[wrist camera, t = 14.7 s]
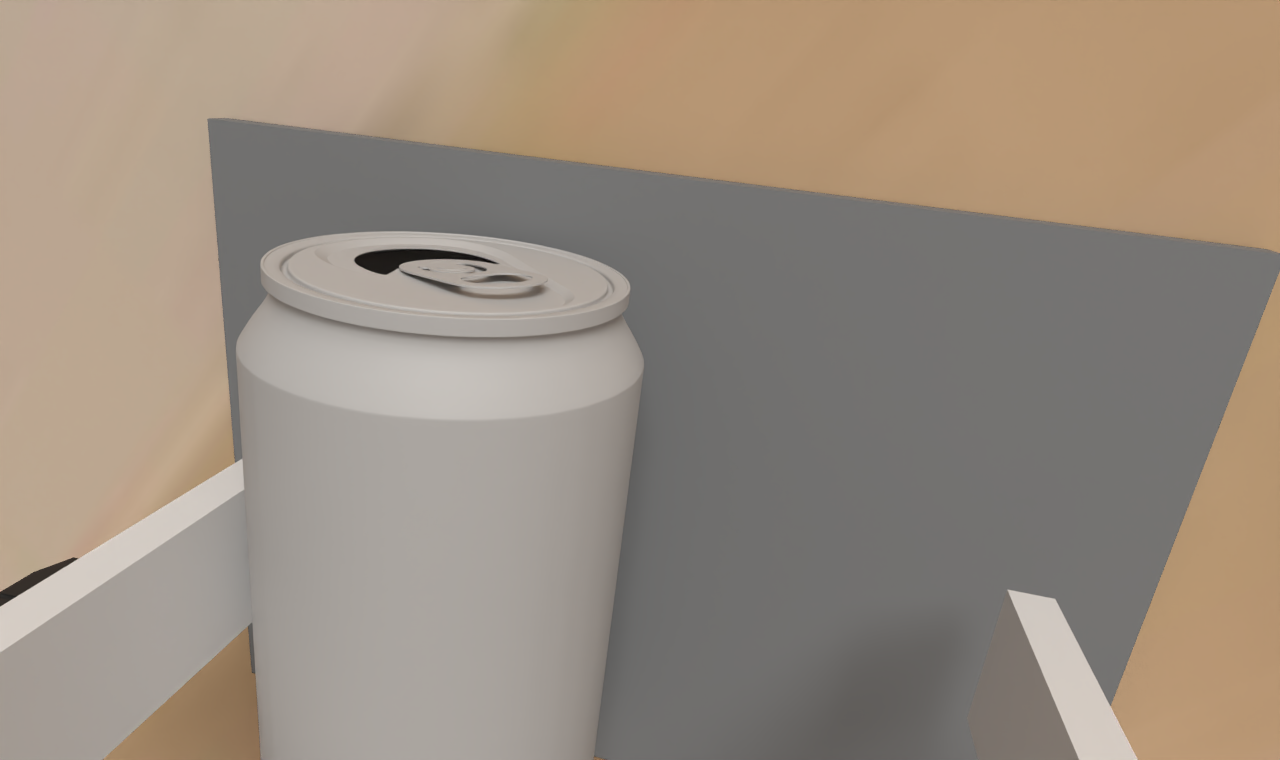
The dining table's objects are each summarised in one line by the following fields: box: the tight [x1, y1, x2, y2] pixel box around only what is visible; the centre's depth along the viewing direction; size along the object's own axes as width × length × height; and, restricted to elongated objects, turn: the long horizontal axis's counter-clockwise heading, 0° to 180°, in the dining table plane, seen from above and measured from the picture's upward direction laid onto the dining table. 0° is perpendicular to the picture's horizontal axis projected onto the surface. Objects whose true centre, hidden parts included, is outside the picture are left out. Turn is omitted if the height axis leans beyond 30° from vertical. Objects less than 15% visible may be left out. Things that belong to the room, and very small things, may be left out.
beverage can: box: [236, 231, 644, 760], centre depth 15 cm, size 6×6×12 cm
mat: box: [208, 118, 1280, 760], centre depth 17 cm, size 20×14×1 cm
